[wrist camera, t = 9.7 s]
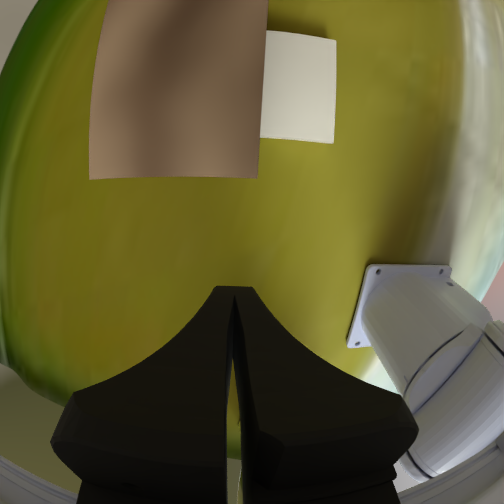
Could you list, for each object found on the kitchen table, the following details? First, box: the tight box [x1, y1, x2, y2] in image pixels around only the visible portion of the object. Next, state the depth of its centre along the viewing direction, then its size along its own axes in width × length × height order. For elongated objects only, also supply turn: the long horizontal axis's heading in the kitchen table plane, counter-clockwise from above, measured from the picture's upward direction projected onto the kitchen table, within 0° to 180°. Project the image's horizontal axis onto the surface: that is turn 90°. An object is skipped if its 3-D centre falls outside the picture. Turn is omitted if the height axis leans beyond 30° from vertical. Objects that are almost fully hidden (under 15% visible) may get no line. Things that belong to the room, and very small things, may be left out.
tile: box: [260, 30, 336, 143], centre depth 14 cm, size 12×7×2 cm, turn 87°
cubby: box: [89, 0, 268, 179], centre depth 13 cm, size 9×12×4 cm
